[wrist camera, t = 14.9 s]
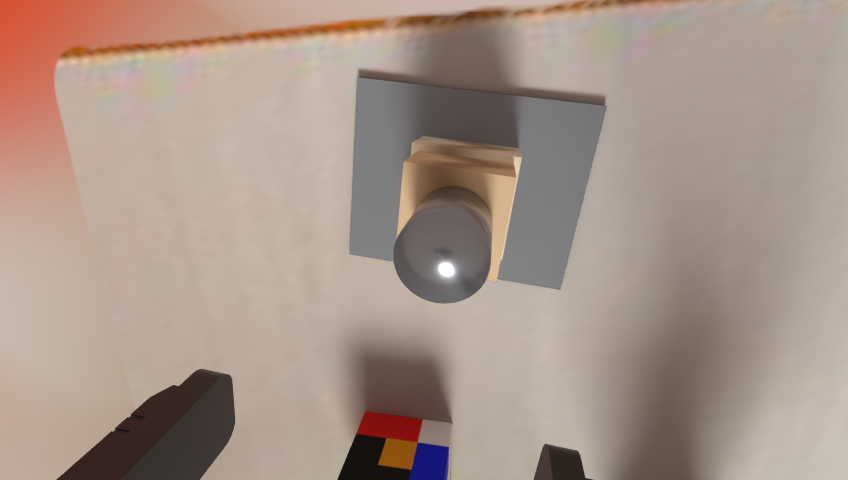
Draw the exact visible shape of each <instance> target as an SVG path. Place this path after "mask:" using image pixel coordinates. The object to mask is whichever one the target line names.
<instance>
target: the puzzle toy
mask: <svg viewBox="0 0 848 480" xmlns="http://www.w3.org/2000/svg"><path fill="white" fill-rule="evenodd" d="M451 449H452V423H447V422H440V421H432V420H425V419H417V418H410V417H402V416H395V415H387V414H379V413H372V412H365V414H364V416H363V419H362V421H361V424H360V426H359V429H358V431H357V433H356V436H355V438H354V441H353V443H352V446H351V448H350V450H349V453H348V455H347V458H346V460H345V463H344V465H343V467H342V470H341V472H340V475H339V477H338V479H337V480H450V476H451Z"/></svg>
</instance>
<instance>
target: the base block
mask: <svg viewBox="0 0 848 480" xmlns="http://www.w3.org/2000/svg"><path fill="white" fill-rule="evenodd" d="M417 151H425V152H432V153H439V154H447V155H454V156H461V157H468V158H475V159H483V160H490V161H497V162H504V163H512V164H514V167H515V172H516V177H517V179H516V184H515V189H514V194H513V200H512V205H511V210H510V215H509V220H508V225H507V230H506V236H505V241H504V246H503V251H502V256H501V260H502V258H503V253H504V248H505V242H506V237H507V232H508V227H509V222H510V217H511V211H512V206H513V201H514V196H515V191H516V185H517V180H518V175H519V170H520V165H521V159H522V156H521V154H520V151H519V148H513V147H505V146H498V145H490V144H483V143H475V142H468V141H460V140H452V139H445V138H437V137H430V136H422V137H420V138H419V139H417V140H415V141H414V142H412V146H411V156H412V155H413V154H414V153H416V152H417Z"/></svg>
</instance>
